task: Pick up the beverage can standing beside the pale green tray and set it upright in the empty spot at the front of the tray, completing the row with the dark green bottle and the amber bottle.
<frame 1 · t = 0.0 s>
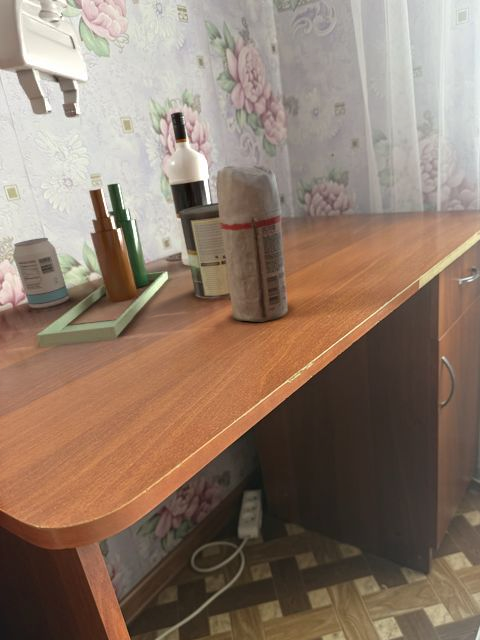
hand: (59, 115, 67), 29 cm above the table, tool pointing down, fingers open, 8 cm apart
spray can: (261, 315, 71), on the table
coffee can: (225, 293, 84), on the table
green bottle: (135, 285, 95), point 1 cm above the table, touching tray
beverage can: (51, 307, 91), on the table
vodka: (204, 263, 109), on the table
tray: (115, 309, 84), on the table
amber bottle: (123, 298, 88), point 1 cm above the table, touching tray
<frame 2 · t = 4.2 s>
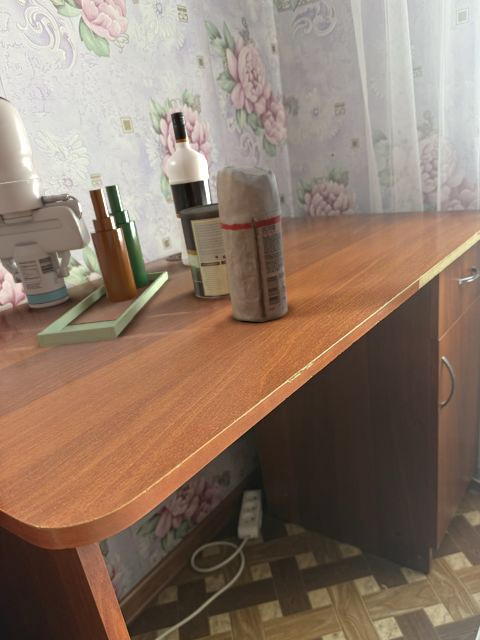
hand: (42, 279, 89), 5 cm above the table, tool pointing down, fingers closed on beverage can, 7 cm apart
beverage can: (51, 307, 91), on the table, touching gripper
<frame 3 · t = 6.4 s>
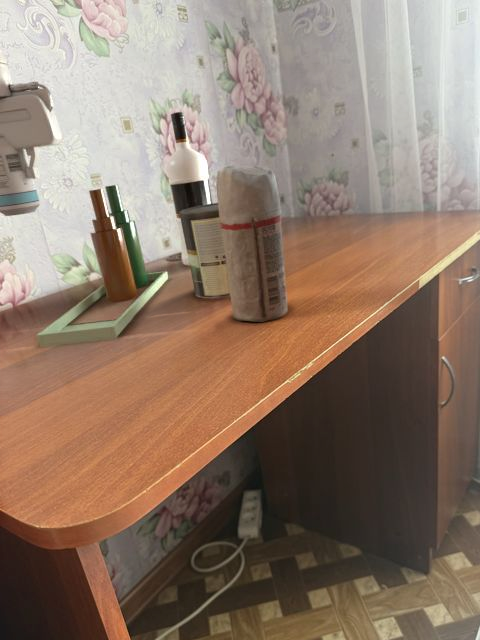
hand: (10, 181, 83), 22 cm above the table, tool pointing down, fingers closed on beverage can, 7 cm apart
beverage can: (20, 214, 85), point 17 cm above the table, touching gripper
everything else where it was.
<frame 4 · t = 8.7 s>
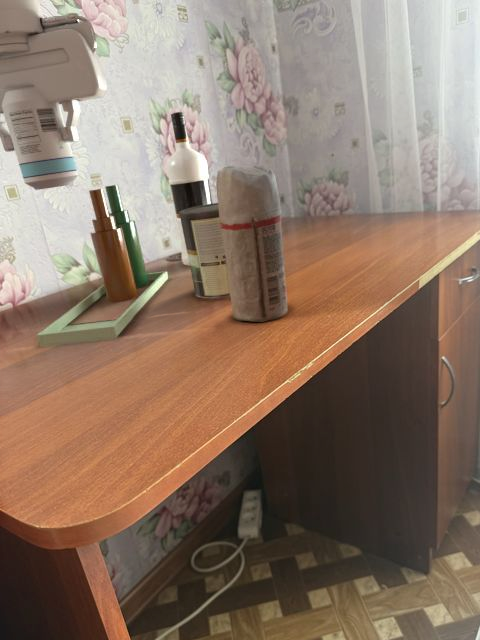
hand: (42, 146, 66), 26 cm above the table, tool pointing down, fingers closed on beverage can, 7 cm apart
beverage can: (54, 188, 68), point 20 cm above the table, touching gripper
everything else where it was.
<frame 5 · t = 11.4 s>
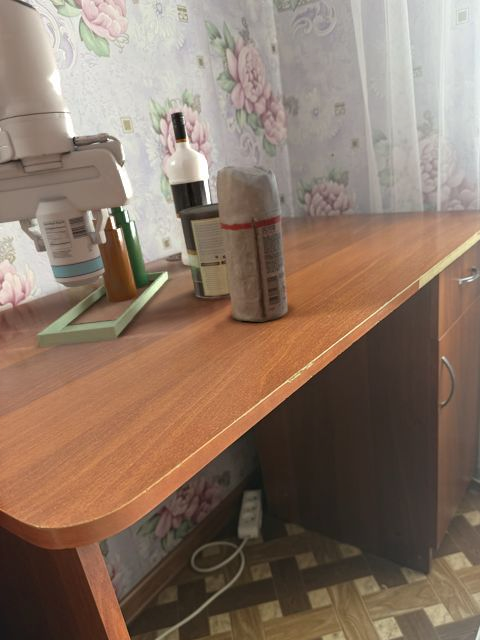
hand: (71, 247, 70), 12 cm above the table, tool pointing down, fingers closed on beverage can, 7 cm apart
beverage can: (82, 283, 72), point 7 cm above the table, touching gripper
everything else where it was.
when the fingers open (6 cm above the table, at t = 13.6 s): beverage can stays where it is, resting on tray.
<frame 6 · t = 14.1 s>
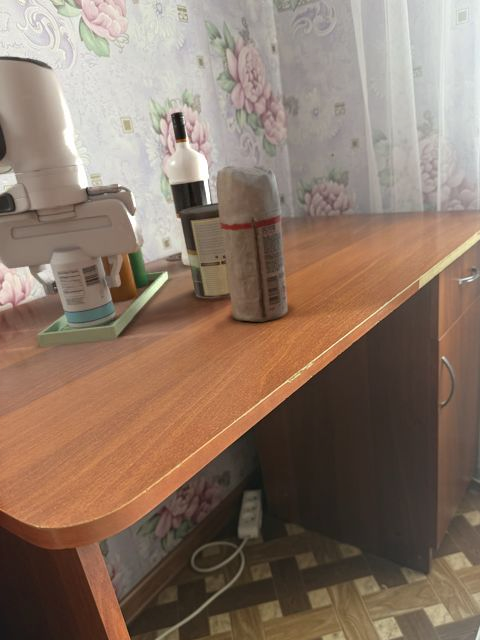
hand: (83, 290, 73), 6 cm above the table, tool pointing down, fingers open, 8 cm apart
beverage can: (94, 326, 75), resting on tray
everything else where it was.
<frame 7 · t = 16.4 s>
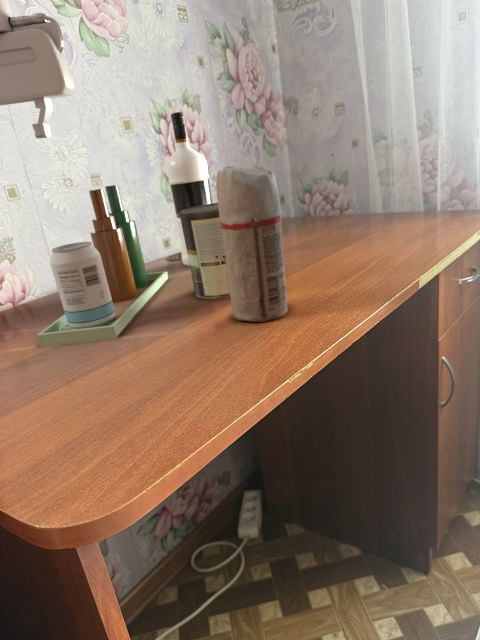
hand: (11, 142, 67), 27 cm above the table, tool pointing down, fingers open, 8 cm apart
nothing on the table moved.
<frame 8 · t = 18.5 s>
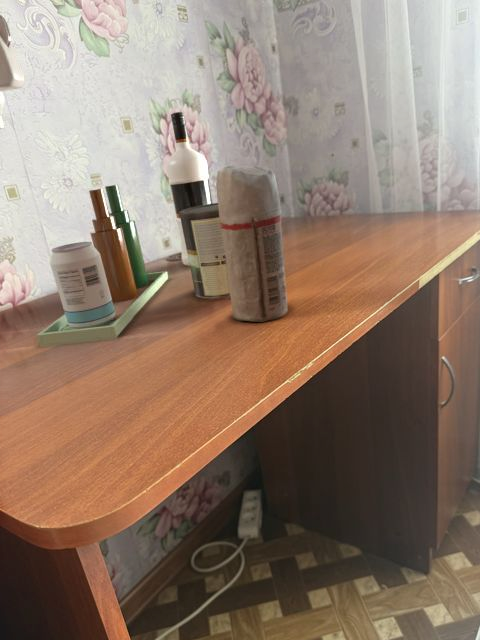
nothing on the table moved.
at the end: beverage can 0.1 cm from the target spot in the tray, point 0.3 cm above the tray's base; beverage can tilted 0°; the gripper is holding nothing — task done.
